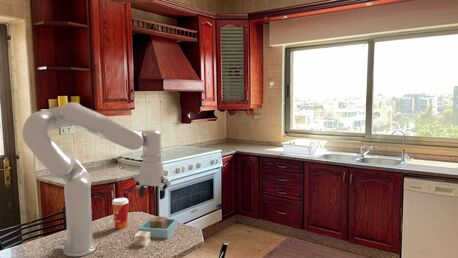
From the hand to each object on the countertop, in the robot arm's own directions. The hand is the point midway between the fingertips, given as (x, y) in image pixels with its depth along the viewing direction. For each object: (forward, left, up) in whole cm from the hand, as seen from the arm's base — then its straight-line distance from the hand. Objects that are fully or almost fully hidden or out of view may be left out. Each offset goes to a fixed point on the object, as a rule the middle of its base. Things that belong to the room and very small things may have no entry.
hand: (152, 197), depth 149 cm
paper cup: (-21, +11, -20) cm, 31 cm away
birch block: (-3, -5, -20) cm, 20 cm away
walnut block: (-1, +9, -19) cm, 21 cm away
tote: (-1, +9, -20) cm, 21 cm away
